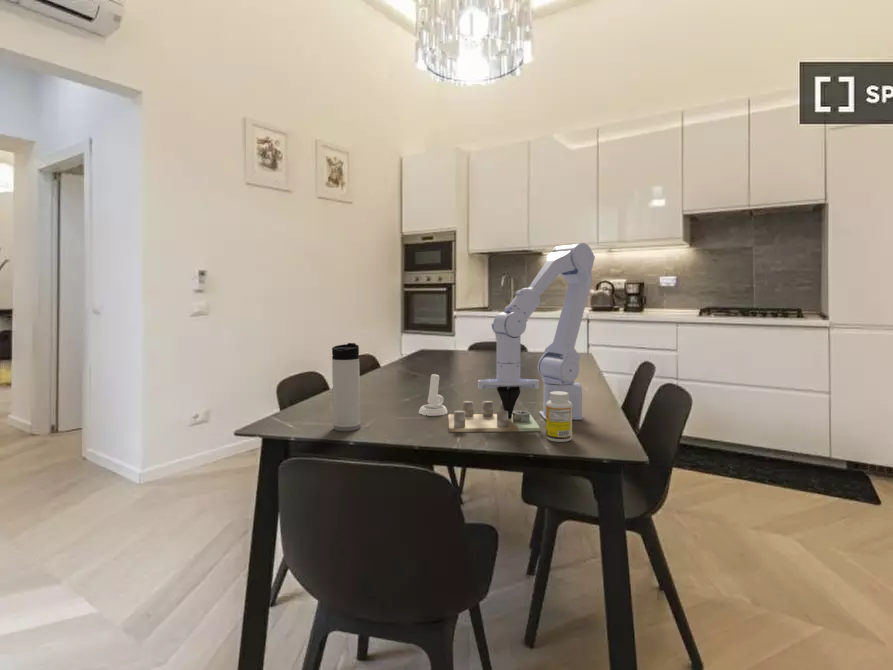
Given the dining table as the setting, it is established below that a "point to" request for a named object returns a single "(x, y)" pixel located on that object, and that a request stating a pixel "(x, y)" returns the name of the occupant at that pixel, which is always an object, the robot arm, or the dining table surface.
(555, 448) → the dining table surface
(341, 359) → the travel mug
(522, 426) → the felt mat
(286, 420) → the dining table surface
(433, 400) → the hook
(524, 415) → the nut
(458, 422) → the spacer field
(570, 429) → the supplement bottle
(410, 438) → the dining table surface
